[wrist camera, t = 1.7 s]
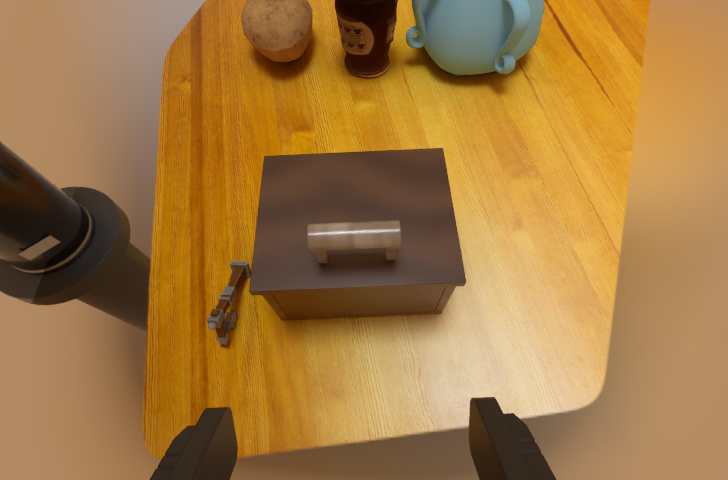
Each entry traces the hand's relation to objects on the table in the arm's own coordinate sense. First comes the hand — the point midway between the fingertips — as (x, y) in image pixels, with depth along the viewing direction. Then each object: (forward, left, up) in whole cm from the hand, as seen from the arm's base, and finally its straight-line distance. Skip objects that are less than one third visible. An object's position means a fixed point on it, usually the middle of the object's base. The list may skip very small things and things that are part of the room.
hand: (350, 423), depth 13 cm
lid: (0, +15, -12) cm, 20 cm away
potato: (-10, +51, -22) cm, 56 cm away
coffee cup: (+2, +47, -22) cm, 52 cm away
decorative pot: (+17, +49, -22) cm, 56 cm away
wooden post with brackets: (-12, +12, -22) cm, 28 cm away
